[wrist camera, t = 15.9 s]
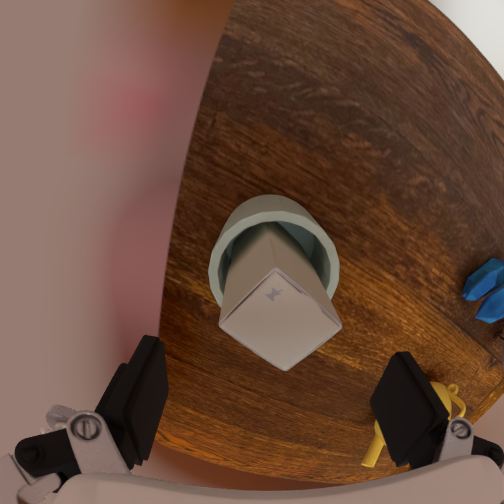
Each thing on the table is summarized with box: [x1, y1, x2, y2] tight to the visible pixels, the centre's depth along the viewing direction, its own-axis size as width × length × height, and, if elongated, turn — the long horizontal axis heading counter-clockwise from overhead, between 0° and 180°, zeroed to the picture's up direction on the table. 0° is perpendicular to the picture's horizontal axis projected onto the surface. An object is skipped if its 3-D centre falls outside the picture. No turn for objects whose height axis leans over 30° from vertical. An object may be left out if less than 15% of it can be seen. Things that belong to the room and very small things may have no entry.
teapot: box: [361, 381, 466, 467], centre depth 29 cm, size 14×14×11 cm
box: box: [219, 221, 342, 371], centre depth 19 cm, size 5×4×13 cm
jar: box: [208, 194, 340, 308], centre depth 22 cm, size 9×9×8 cm
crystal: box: [462, 258, 504, 323], centre depth 23 cm, size 7×9×12 cm
